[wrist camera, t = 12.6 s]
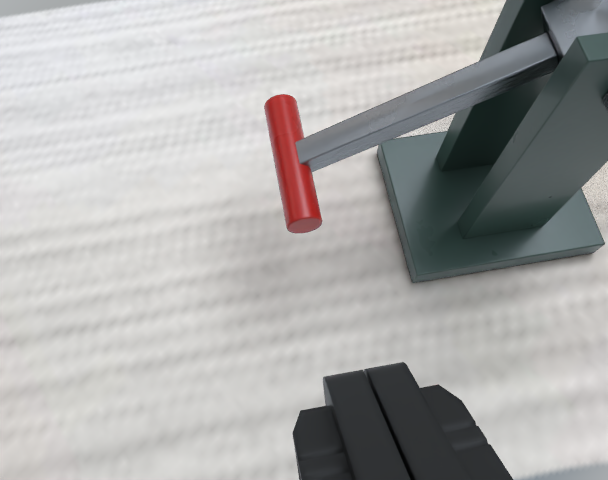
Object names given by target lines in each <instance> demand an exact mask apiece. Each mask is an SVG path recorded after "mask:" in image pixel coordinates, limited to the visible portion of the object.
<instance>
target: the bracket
mask: <svg viewBox="0 0 608 480" xmlns="http://www.w3.org/2000/svg"><path fill="white" fill-rule="evenodd" d="M552 1H554V0H506V2H505V5H504V7H503V9H502V11H501V13H500V16H499V18H498V20H497V22H496V25H495V27H494V29H493V31H492V33H491V36H490V38H489V40H488V42H487V45H486V47H485V49H484V51H483V53H482V56H481V58H480V60H479V61H481V60H483V59H486V58H488V57H490V56H492V55H495V54H497V53H499V52H502V51H504V50H506V49H508V48H511V47H513V46H515V45H518V44H520V43H522V42H524V41H527V40H529V39H531V38H533V37H536V36H538V35H540V34H543V33H544V30H543V22H542V14H541V7H542V6H543V5H546V4H548V3H550V2H552ZM377 155H378V159H379V162H380V166H381V170H382V173H383V177H384V181H385V185H386V188H387V192H388V196H389V199H390V203H391V207H392V210H393V214H394V218H395V221H396V225H397V229H398V232H399V236H400V240H401V243H402V247H403V251H404V254H405V258H406V262H407V265H408V269H409V273H410V276H411V280H412V282H413V283H415V282H421V281H427V280H433V279H439V278H445V277H451V276H457V275H463V274H469V273H475V272H481V271H487V270H493V269H499V268H505V267H511V266H517V265H523V264H529V263H535V262H541V261H547V260H553V259H559V258H565V257H571V256H577V255H583V254H589V253H594V252H595V251H596V250H598V249H599V248H600V247H602V246H603V245H604V244H605V243H604V240H603V238H602V236H601V233H600V231H599V229H598V226H597V224H596V222H595V219H594V217H593V215H592V212H591V210H590V207H589V205H588V203H587V200H586V198H585V196H584V193H583V191H582V189H581V187H582V186H583V185H584V184H585V183H586V182H587V181H588V180H589V179H590V178H591V177H592V176H593V175H594V174H595V173H596V172H597V171H598V170H599V169H600V168H601V167H602V166H603V165H604V164H605V163H606V162H607V161H608V32H607V33H599V34H591V35H583V36H577V37H576V38H575V40H574V41H573V43H572V44H571V46H570V47H569V49H568V50H567V52H566V54H565V55H564V57H563V58H562V60H561V61H560V63H559V64H558V66H557V68H556V69H555V71H554V72H553V73H551V74H548V75H546V76H544V77H541V78H539V79H536V80H534V81H531V82H529V83H527V84H524V85H522V86H519V87H517V88H514V89H512V90H510V91H507V92H505V93H502V94H500V95H498V96H495V97H493V98H490V99H488V100H485V101H483V102H481V103H478V104H476V105H473V106H471V107H468V108H466V109H464V110H461V111H459V112H456V114H455V116H454V118H453V120H452V122H451V125H450V127H449V129H448V131H445V132H438V133H431V134H424V135H417V136H410V137H403V138H396V139H391V140H389V141H386V142H384V143H381V144H379V146H378V150H377Z"/></svg>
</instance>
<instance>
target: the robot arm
mask: <svg viewBox="0 0 608 480" xmlns="http://www.w3.org/2000/svg"><path fill="white" fill-rule="evenodd" d="M323 386H324V395H325V404H326V406H323V407H318V408H312V409H307V410H302V411H300V414H299V417H298V419H297V422H296V425H295V428H294V431H293V439H294V445H295V452H296V459H297V466H298V473H299V480H513V479H512V477H511V476H510V474H509V473H508V471H507V469H506V468H505V466H504V465H503V463H502V462H501V460H500V459H499V457H498V456H497V454H496V453H495V451H494V450H493V448H492V447H491V445H490V444H488V443H487V439H486V437H485V436H484V434H483V433H482V431H481V430H480V428H479V427H478V426H476V424H475V421H474V419H473V417H472V416H471V414H470V413H469V411H468V410H467V408H466V407H465V405H464V404H463V402H462V401H461V400H460V399H459V398H457V397H456V396H454V395H453V394H451V393H450V392H448V391H447V390H446V389H444V388H443V387H441V386H440V385H434V386H429V387H423V388H419V386H418V384H417V382H416V381H415V379H414V377H413V375H412V374H411V372H410V370H409V368H408V367H407V365H406V364H405V363H404V362H402V363H396V364H391V365H385V366H380V367H374V368H369V369H365V370H364V371H363V370H359V371H353V372H348V373H342V374H337V375H331V376H326V377H323Z"/></svg>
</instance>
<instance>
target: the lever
mask: <svg viewBox="0 0 608 480" xmlns="http://www.w3.org/2000/svg"><path fill="white" fill-rule="evenodd" d="M541 14H542V22H543V30H544V33H543V34H540V35H538V36H536V37H533V38H531V39H529V40H527V41H524V42H522V43H520V44H518V45H515V46H513V47H511V48H508V49H506V50H504V51H502V52H499V53H497V54H495V55H492V56H490V57H488V58H486V59H483V60H481V61H479V62H477V63H474V64H472V65H470V66H467V67H465V68H463V69H461V70H458V71H456V72H454V73H452V74H449V75H447V76H445V77H442V78H440V79H438V80H436V81H433V82H431V83H429V84H426V85H424V86H422V87H420V88H417V89H415V90H413V91H411V92H408V93H406V94H404V95H401V96H399V97H397V98H395V99H392V100H390V101H388V102H385V103H383V104H381V105H379V106H376V107H374V108H372V109H370V110H367V111H365V112H363V113H360V114H358V115H356V116H354V117H351V118H349V119H347V120H344V121H342V122H340V123H338V124H335V125H333V126H331V127H329V128H326V129H324V130H322V131H319V132H317V133H315V134H313V135H310V136H308V137H306V138H304V134H303V130H302V125H301V120H300V116H299V111H298V107H297V102H296V100H295V99H294V98H293V97H292V96H290V95H285V94H282V95H276V96H273V97H271V98H270V99H269V100H267V102H266V103H265V106H264V109H265V114H266V120H267V125H268V130H269V136H270V141H271V146H272V152H273V157H274V162H275V168H276V173H277V178H278V184H279V189H280V195H281V200H282V205H283V211H284V216H285V221H286V227H287V229H288V231H290V232H292V233H306V232H310V231H313V230H315V229H317V228H319V227H320V226H321V224H322V218H321V213H320V209H319V204H318V199H317V195H316V190H315V185H314V181H313V176H312V172H314V171H316V170H318V169H321V168H323V167H326V166H328V165H330V164H333V163H335V162H338V161H340V160H343V159H345V158H347V157H350V156H352V155H355V154H357V153H360V152H362V151H364V150H367V149H369V148H372V147H374V146H376V145H379V144H381V143H384V142H386V141H389V140H391V139H393V138H396V137H398V136H401V135H403V134H406V133H408V132H410V131H413V130H415V129H418V128H420V127H422V126H425V125H427V124H430V123H432V122H435V121H437V120H439V119H442V118H444V117H447V116H449V115H452V114H454V113H456V112H459V111H461V110H464V109H466V108H468V107H471V106H473V105H476V104H478V103H481V102H483V101H485V100H488V99H490V98H493V97H495V96H498V95H500V94H502V93H505V92H507V91H510V90H512V89H514V88H517V87H519V86H522V85H524V84H527V83H529V82H531V81H534V80H536V79H539V78H541V77H544V76H546V75H548V74H551V73H553V72H554V71H555V69H556V68H557V66H558V64H559V63H560V61H561V60H562V58H563V57H564V55H565V54H566V52H567V50H568V49H569V47H570V46H571V44H572V43H573V41H574V40H575V38H576V37H577V36H583V35H591V34H599V33H607V32H608V0H554V1H552V2H550V3H548V4H546V5H543V6H542V7H541Z"/></svg>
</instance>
